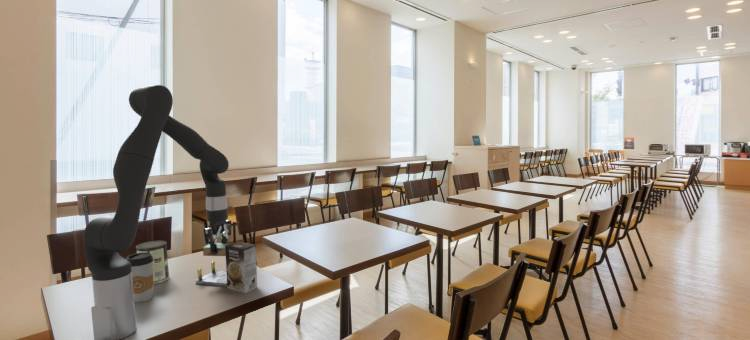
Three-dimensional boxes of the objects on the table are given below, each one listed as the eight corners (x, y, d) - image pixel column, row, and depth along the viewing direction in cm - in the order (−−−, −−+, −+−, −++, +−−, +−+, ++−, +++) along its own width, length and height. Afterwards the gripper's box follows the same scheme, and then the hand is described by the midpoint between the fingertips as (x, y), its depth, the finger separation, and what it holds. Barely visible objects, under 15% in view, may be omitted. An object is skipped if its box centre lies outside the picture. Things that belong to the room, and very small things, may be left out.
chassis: (228, 286, 143) (228, 273, 143) (195, 283, 147) (194, 270, 146) (245, 275, 154) (245, 262, 154) (214, 273, 157) (213, 260, 157)
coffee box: (226, 289, 141) (224, 245, 140) (240, 282, 147) (238, 240, 145) (244, 293, 137) (242, 248, 135) (258, 287, 143) (256, 243, 141)
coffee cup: (124, 305, 129) (120, 261, 128) (132, 295, 137) (128, 253, 136) (152, 301, 132) (149, 258, 130) (158, 292, 140) (155, 251, 138)
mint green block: (203, 255, 147) (202, 247, 147) (210, 250, 153) (210, 242, 152) (229, 256, 146) (228, 247, 146) (235, 251, 152) (235, 243, 151)
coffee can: (153, 273, 157) (151, 239, 156) (175, 276, 155) (172, 241, 153) (132, 283, 147) (128, 247, 146) (154, 286, 145) (152, 249, 143)
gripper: (219, 203, 155) (222, 244, 157) (195, 211, 141) (198, 256, 143) (236, 204, 153) (239, 245, 155) (213, 212, 140) (216, 257, 142)
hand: (219, 250), depth 149 cm, fingers closed on mint green block, 6 cm apart
